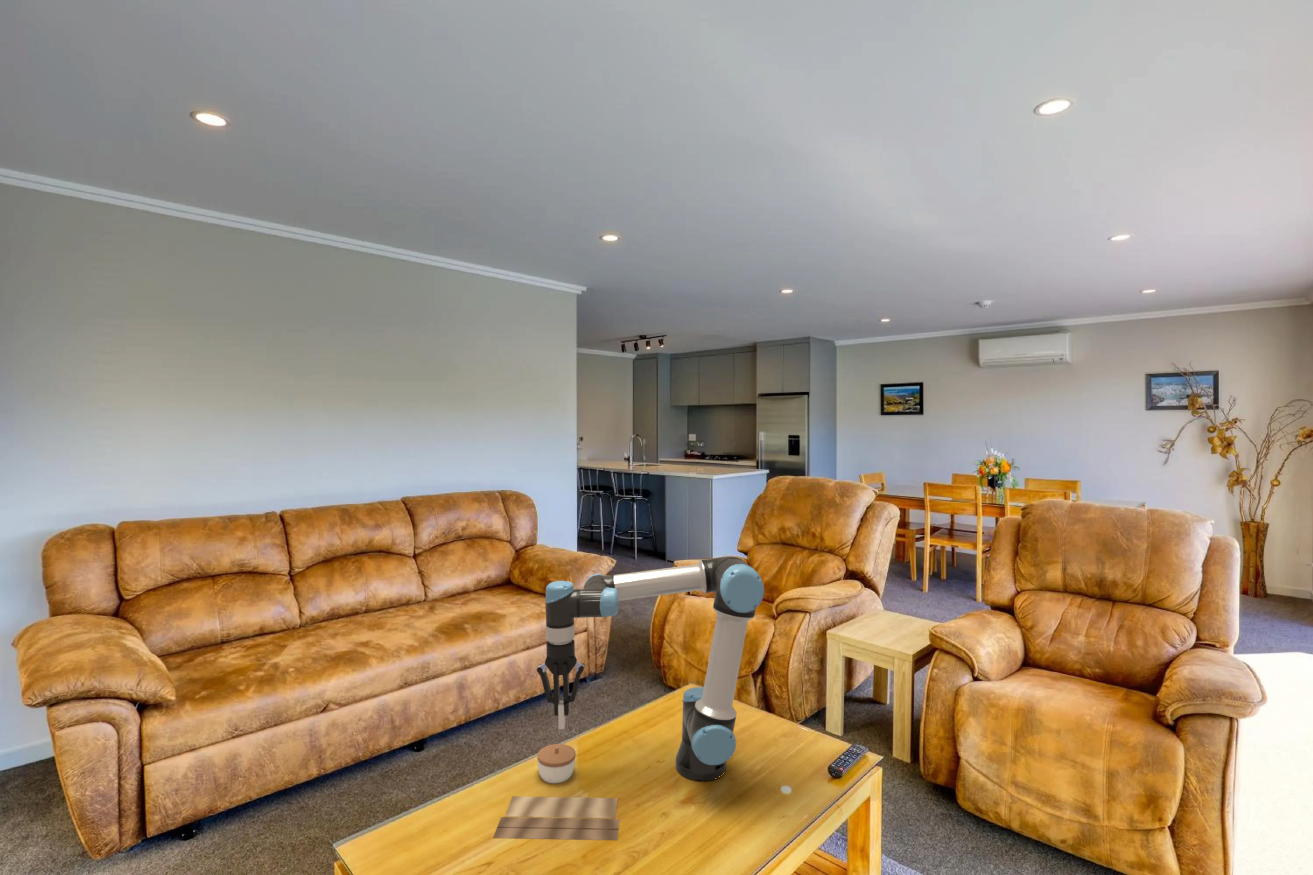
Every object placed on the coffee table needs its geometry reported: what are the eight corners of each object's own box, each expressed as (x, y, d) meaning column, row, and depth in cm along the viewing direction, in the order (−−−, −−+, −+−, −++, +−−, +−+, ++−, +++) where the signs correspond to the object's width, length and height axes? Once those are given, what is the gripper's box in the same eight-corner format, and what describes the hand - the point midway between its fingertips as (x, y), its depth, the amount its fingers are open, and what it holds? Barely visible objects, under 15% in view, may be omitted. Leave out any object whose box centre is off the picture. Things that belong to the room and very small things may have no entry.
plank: (617, 803, 164) (617, 798, 164) (615, 823, 156) (615, 818, 156) (512, 801, 163) (512, 796, 163) (505, 821, 155) (505, 816, 155)
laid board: (619, 824, 155) (619, 818, 155) (617, 846, 147) (617, 839, 147) (500, 822, 155) (501, 816, 155) (492, 844, 147) (492, 837, 147)
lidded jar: (567, 793, 168) (568, 759, 168) (530, 788, 170) (531, 754, 170) (580, 772, 179) (580, 740, 179) (545, 767, 181) (546, 735, 181)
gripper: (585, 634, 169) (587, 719, 169) (538, 635, 169) (540, 720, 169) (583, 644, 161) (584, 732, 162) (533, 645, 161) (535, 734, 161)
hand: (561, 726), depth 165 cm, fingers closed
